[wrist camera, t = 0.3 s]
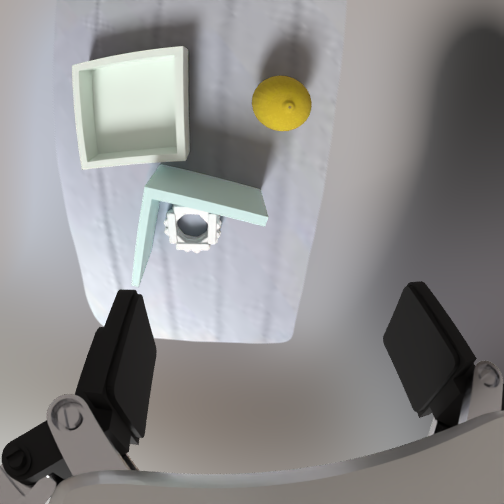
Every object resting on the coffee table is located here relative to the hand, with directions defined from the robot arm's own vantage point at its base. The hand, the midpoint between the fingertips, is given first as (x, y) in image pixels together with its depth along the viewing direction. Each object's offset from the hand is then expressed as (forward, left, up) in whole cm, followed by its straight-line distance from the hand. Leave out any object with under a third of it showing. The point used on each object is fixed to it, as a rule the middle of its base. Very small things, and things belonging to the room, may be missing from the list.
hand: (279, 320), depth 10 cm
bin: (-5, -12, -26) cm, 29 cm away
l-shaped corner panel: (+9, -5, -26) cm, 28 cm away
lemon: (-5, +3, -26) cm, 27 cm away
